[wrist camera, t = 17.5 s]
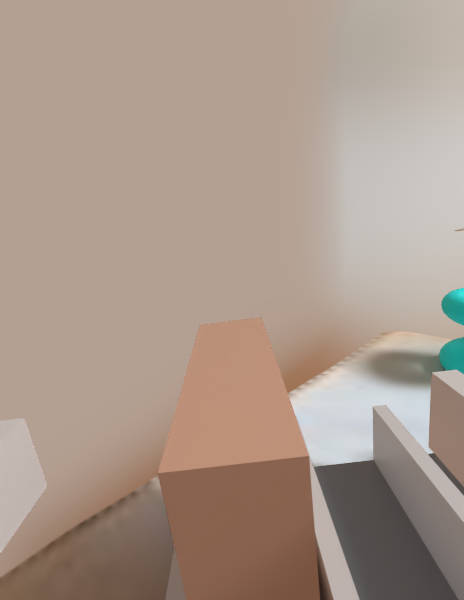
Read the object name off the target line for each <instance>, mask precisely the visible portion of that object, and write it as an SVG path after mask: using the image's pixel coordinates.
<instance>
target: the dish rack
mask: <svg viewBox="0 0 464 600" xmlns="http://www.w3.org/2000/svg"><path fill="white" fill-rule="evenodd" d="M295 417H296V416H295ZM296 419H297V418H296ZM297 422H298V421H297ZM298 425H299V424H298ZM299 428H300V427H299ZM300 431H301V429H300ZM301 434H302V432H301ZM302 437H303V435H302ZM303 440H304V438H303ZM304 443H305V441H304ZM305 446H306V444H305ZM306 448H307V447H306ZM307 451H308V450H307ZM308 454H309V453H308ZM373 457H374V460H371V461H362V462H353V463H345V464H336V465H327V466H318V467H313V464H312V461H311V458H310V455H309V461H310V474H311V488H312V501H313V514H314V527H315V540H316V553H317V566H318V579H319V592H320V600H464V487H463V485H462V484H461V483H460V482H459V481H458V480H457V479H456V477H455V476H454V475H453V474H452V473H451V472H450V471H449V469H448V468H447V467H446V466H445V465H444V464H443V463H442V461H441V460H440V459H439V458H438V457H437V456H436V455H435V453H433V454H427V452H426V451H425V450H424V449H423V448H422V447H421V446H420V444H419V443H418V442H417V441H416V440H415V439H414V437H413V436H412V435H411V434H410V433H409V432H408V430H407V429H406V428H405V427H404V426H403V425H402V423H401V422H400V421H399V420H398V419H397V418H396V416H395V415H394V414H393V413H392V412H391V411H390V410H389V408H388V407H387V406H386V405H382V406H374V407H373ZM165 600H186V595H185V591H184V586H183V582H182V578H181V573H180V569H179V564H178V560H177V556H176V551H175V547H174V550H173V556H172V562H171V568H170V574H169V580H168V586H167V592H166V597H165Z"/></svg>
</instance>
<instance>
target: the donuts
mask: <svg viewBox="0 0 464 600" xmlns="http://www.w3.org/2000/svg"><path fill="white" fill-rule="evenodd" d="M442 309H443V311H444V313H445V314H446V315H447V316H448V317H449V318H450V319H452V320H453V321H455V322H457V323H459V324H461V325H464V288H461V289H457V290H454V291H452V292H450V293H448V294H447V295H446V296H445V297H444V298H443V300H442ZM439 359H440V362H441V364H442V366H443V367H444V368H445V369H446V370H447V371H449V370H458V371H459V372H461V373H462V374H464V337H462V338H458V339H454V340H452V341H450V342H448V343H446V344H445V345H444V346H443V347H442V349H441V350H440V353H439Z"/></svg>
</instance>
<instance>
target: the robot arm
mask: <svg viewBox="0 0 464 600" xmlns="http://www.w3.org/2000/svg"><path fill="white" fill-rule="evenodd" d="M429 448H430V449H431V450H432V451H433V452H434V453H435V455H436V456H437V457H438V458H439V459H440V460H441V461H442V463H443V464H444V465H445V466H446V467H447V468H448V469H449V471H450V472H451V473H452V474H453V475H454V476H455V477H456V479H457V480H458V481H459V482H460V483H461V484H462V485H463V487H464V374H462V373H461V372H459V371H458V370H449V371H440V372H432V375H431V400H430V425H429ZM46 488H47V484H46V481H45V478H44V475H43V472H42V469H41V466H40V463H39V460H38V457H37V454H36V451H35V448H34V445H33V442H32V439H31V437H30V433H29V430H28V427H27V424H26V422H25V419H24V418H21V419H12V420H3V421H1V422H0V554H1V552H2V551H3V549H4V548H5V546H6V545H7V544H8V542H9V541H10V539H11V538H12V536H13V535H14V533H15V532H16V531H17V529H18V528H19V526H20V525H21V524H22V522H23V521H24V519H25V518H26V516H27V515H28V513H29V512H30V511H31V509H32V508H33V506H34V505H35V504H36V502H37V501H38V499H39V498H40V496H41V495H42V493H43V492H44V491H45V489H46Z"/></svg>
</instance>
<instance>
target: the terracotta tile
mask: <svg viewBox="0 0 464 600" xmlns="http://www.w3.org/2000/svg"><path fill="white" fill-rule="evenodd" d="M158 476H159V481H160V485H161V489H162V494H163V498H164V503H165V507H166V511H167V516H168V520H169V525H170V529H171V534H172V538H173V542H174V547H175V551H176V556H177V560H178V564H179V569H180V573H181V578H182V582H183V586H184V591H185V595H186V600H320V592H319V579H318V566H317V553H316V540H315V527H314V514H313V501H312V488H311V474H310V461H309V454H308V451H307V448H306V446H305V443H304V440H303V437H302V434H301V431H300V428H299V425H298V422H297V419H296V417H295V414H294V411H293V408H292V405H291V402H290V399H289V396H288V393H287V390H286V388H285V385H284V382H283V379H282V376H281V373H280V370H279V367H278V364H277V361H276V359H275V356H274V353H273V350H272V347H271V344H270V341H269V338H268V335H267V332H266V330H265V327H264V324H263V321H262V318H252V319H244V320H236V321H228V322H220V323H212V324H204V325H200V326H199V330H198V333H197V337H196V341H195V344H194V348H193V351H192V354H191V358H190V361H189V365H188V369H187V372H186V376H185V379H184V383H183V386H182V390H181V393H180V397H179V400H178V404H177V407H176V411H175V414H174V418H173V421H172V425H171V429H170V432H169V436H168V439H167V443H166V446H165V450H164V453H163V457H162V460H161V464H160V467H159V471H158Z"/></svg>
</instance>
